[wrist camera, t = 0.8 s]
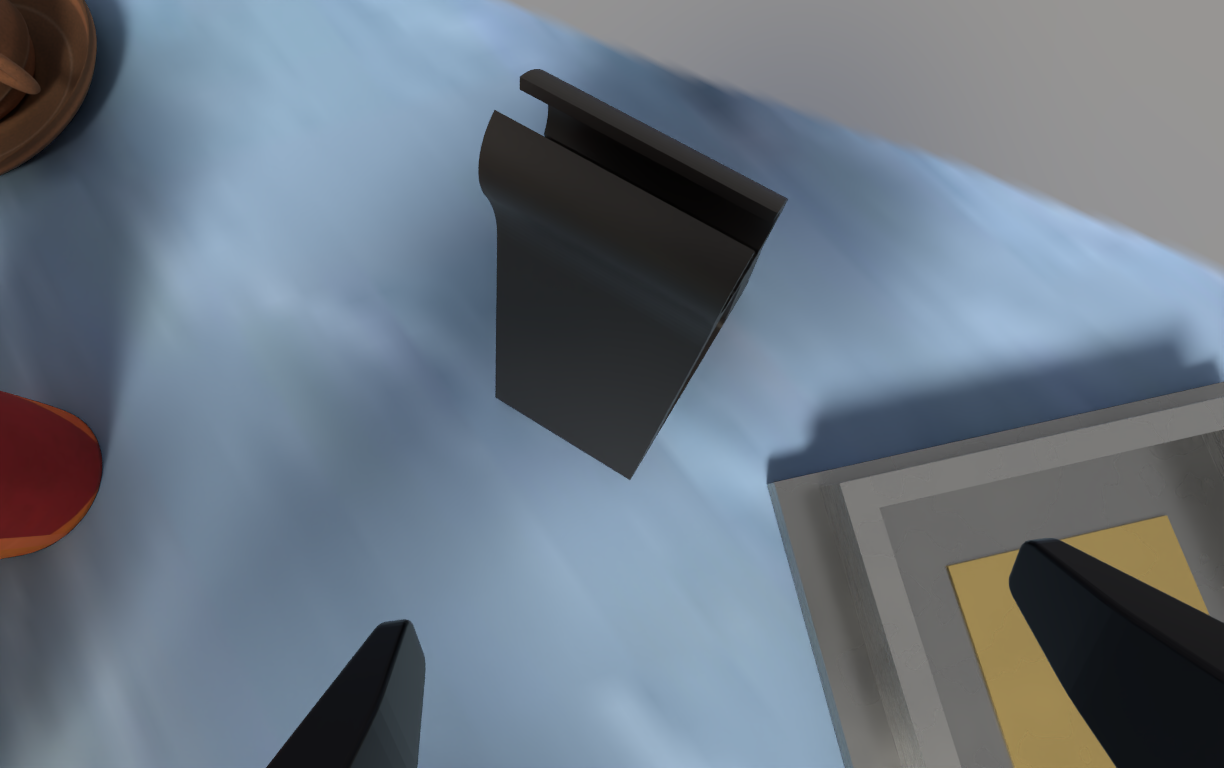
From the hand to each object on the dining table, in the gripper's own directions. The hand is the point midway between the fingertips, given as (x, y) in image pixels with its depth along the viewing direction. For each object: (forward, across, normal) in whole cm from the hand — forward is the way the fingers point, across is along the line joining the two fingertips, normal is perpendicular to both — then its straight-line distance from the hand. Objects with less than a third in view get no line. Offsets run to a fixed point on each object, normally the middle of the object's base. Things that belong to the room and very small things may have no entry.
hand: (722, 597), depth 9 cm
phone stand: (+15, 0, +3) cm, 16 cm away
